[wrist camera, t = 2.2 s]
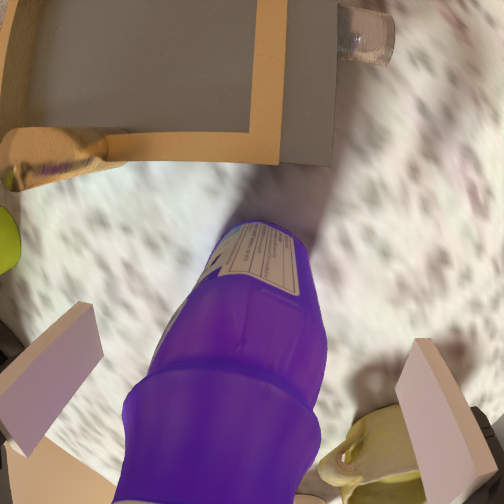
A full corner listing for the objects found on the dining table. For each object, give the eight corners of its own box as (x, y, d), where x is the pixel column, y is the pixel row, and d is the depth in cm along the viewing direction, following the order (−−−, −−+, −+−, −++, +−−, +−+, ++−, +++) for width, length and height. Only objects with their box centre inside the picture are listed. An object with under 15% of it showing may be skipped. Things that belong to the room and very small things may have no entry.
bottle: (239, 197, 18) (33, 484, 2) (323, 239, 19) (417, 562, 2) (194, 295, 21) (64, 543, 4) (269, 329, 21) (238, 598, 5)
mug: (468, 421, 21) (462, 510, 13) (389, 452, 27) (368, 527, 19) (404, 354, 22) (385, 464, 14) (319, 398, 28) (280, 483, 20)
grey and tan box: (53, 163, 19) (-84, 199, 7) (74, -15, 14) (-31, -63, 2) (364, 172, 17) (483, 224, 6) (366, -36, 12) (423, -148, 1)
